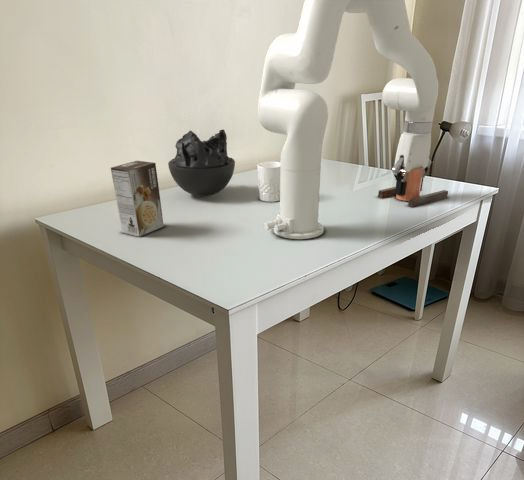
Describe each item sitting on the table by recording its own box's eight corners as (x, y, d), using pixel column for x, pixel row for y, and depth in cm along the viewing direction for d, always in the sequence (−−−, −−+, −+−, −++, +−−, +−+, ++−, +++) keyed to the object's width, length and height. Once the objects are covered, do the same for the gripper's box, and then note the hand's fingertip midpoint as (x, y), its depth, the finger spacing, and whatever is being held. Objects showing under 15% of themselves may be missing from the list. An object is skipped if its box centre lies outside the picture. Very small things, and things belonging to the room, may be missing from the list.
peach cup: (408, 202, 145) (413, 170, 140) (391, 197, 149) (394, 166, 144) (423, 198, 148) (428, 166, 143) (406, 193, 153) (410, 162, 148)
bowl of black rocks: (161, 202, 148) (153, 134, 138) (185, 185, 164) (180, 123, 154) (225, 206, 144) (221, 136, 134) (243, 188, 160) (241, 125, 150)
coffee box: (146, 223, 132) (137, 159, 123) (164, 227, 129) (156, 162, 120) (121, 233, 125) (109, 166, 116) (139, 237, 122) (129, 170, 114)
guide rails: (412, 207, 141) (413, 200, 140) (377, 197, 150) (378, 190, 149) (447, 197, 149) (448, 191, 148) (412, 188, 158) (413, 182, 157)
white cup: (281, 203, 146) (281, 167, 141) (255, 201, 147) (254, 166, 142) (285, 195, 153) (286, 162, 147) (260, 194, 154) (260, 161, 149)
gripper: (426, 123, 145) (417, 185, 155) (386, 129, 137) (378, 194, 146) (448, 126, 140) (437, 190, 149) (407, 132, 131) (398, 200, 141)
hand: (408, 192), depth 148 cm, fingers closed on peach cup, 6 cm apart
